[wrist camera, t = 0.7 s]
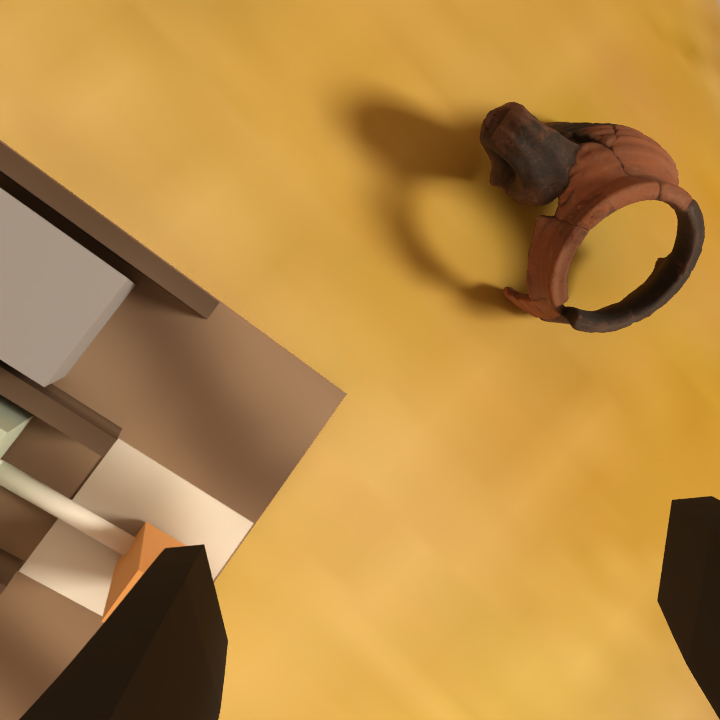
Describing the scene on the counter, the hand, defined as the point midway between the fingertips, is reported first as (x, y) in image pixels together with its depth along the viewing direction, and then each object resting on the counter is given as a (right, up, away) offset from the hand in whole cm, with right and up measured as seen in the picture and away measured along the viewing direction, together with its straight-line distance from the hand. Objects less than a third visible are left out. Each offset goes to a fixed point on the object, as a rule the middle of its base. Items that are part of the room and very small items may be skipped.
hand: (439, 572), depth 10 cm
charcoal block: (-14, +6, +16) cm, 22 cm away
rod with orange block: (-15, -1, +15) cm, 21 cm away
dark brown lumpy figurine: (+8, +11, +22) cm, 26 cm away
